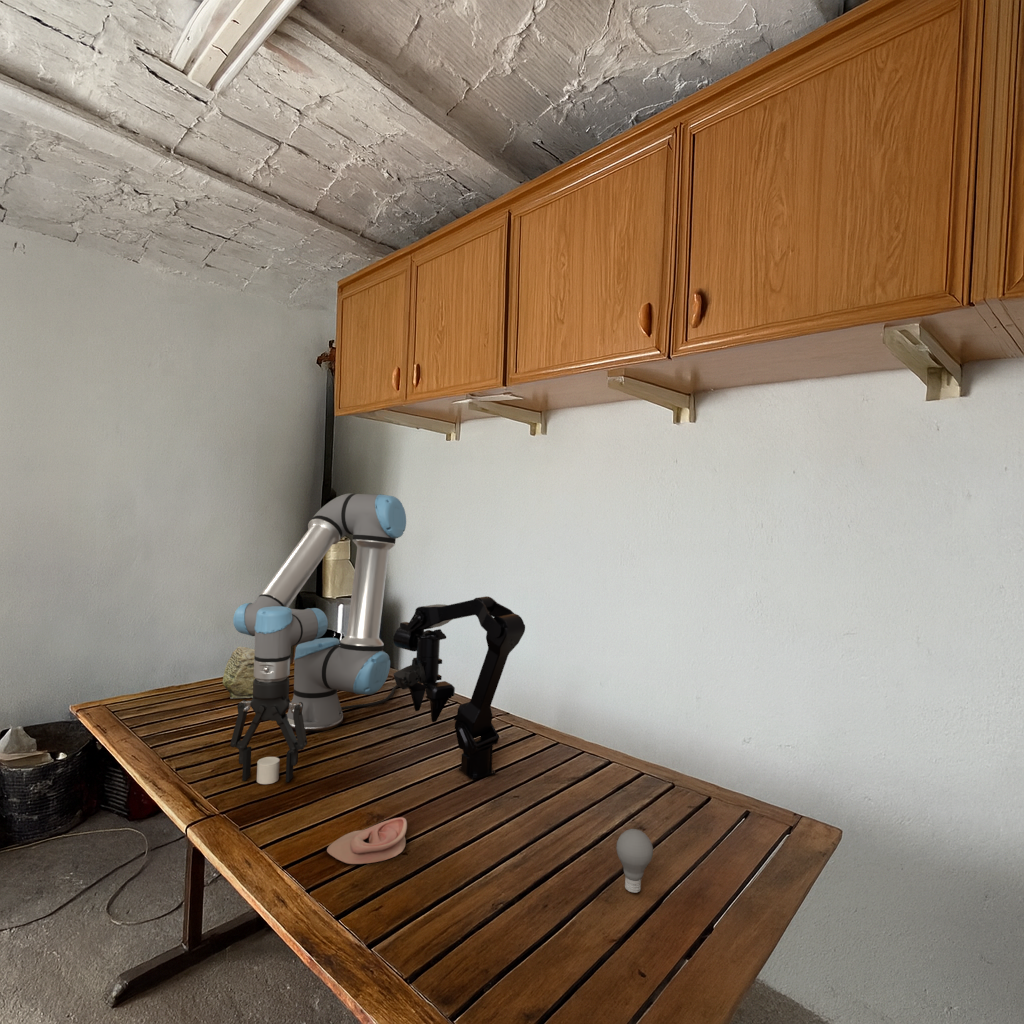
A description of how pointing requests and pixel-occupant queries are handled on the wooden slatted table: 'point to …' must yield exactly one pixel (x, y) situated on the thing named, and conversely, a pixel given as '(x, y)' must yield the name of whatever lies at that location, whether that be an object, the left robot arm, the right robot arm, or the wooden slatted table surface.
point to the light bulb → (634, 857)
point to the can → (268, 770)
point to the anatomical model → (371, 843)
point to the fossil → (240, 673)
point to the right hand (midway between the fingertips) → (425, 716)
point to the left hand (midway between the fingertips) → (267, 778)
